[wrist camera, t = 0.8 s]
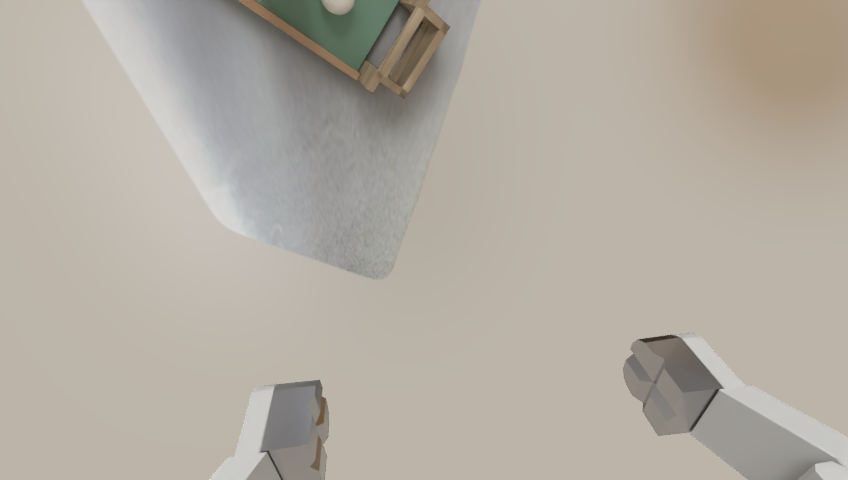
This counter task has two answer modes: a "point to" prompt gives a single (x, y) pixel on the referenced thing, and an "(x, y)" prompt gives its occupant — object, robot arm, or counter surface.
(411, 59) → the wooden frame
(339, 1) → the ball
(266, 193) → the counter surface
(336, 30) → the tray
